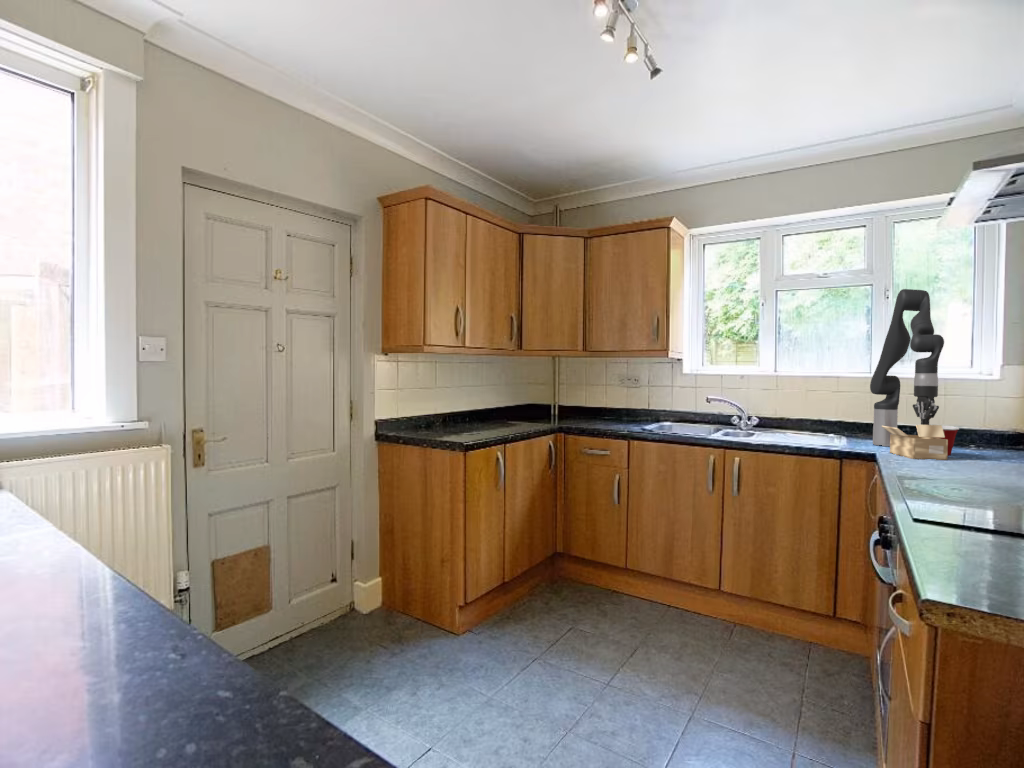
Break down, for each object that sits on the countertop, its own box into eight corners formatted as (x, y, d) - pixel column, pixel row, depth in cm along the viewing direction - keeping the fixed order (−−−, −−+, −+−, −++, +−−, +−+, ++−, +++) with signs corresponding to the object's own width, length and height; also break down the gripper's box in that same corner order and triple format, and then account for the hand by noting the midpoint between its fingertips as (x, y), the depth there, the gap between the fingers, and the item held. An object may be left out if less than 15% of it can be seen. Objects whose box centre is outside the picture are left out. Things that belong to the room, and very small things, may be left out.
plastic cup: (928, 455, 218) (929, 426, 218) (922, 452, 228) (923, 424, 228) (962, 457, 213) (963, 427, 213) (954, 454, 223) (955, 425, 223)
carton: (889, 453, 222) (890, 434, 221) (921, 454, 220) (921, 435, 220) (913, 459, 206) (913, 438, 206) (947, 460, 204) (948, 439, 204)
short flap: (918, 436, 206) (919, 436, 205) (915, 424, 208) (916, 424, 207) (944, 437, 204) (944, 437, 204) (941, 425, 206) (941, 425, 206)
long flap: (892, 433, 219) (891, 433, 220) (882, 425, 220) (881, 426, 220) (908, 435, 209) (907, 436, 209) (897, 428, 209) (896, 428, 209)
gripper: (947, 385, 202) (946, 430, 202) (925, 385, 215) (924, 427, 215) (926, 384, 203) (925, 429, 203) (905, 384, 216) (904, 426, 216)
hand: (924, 428), depth 209 cm, fingers closed
